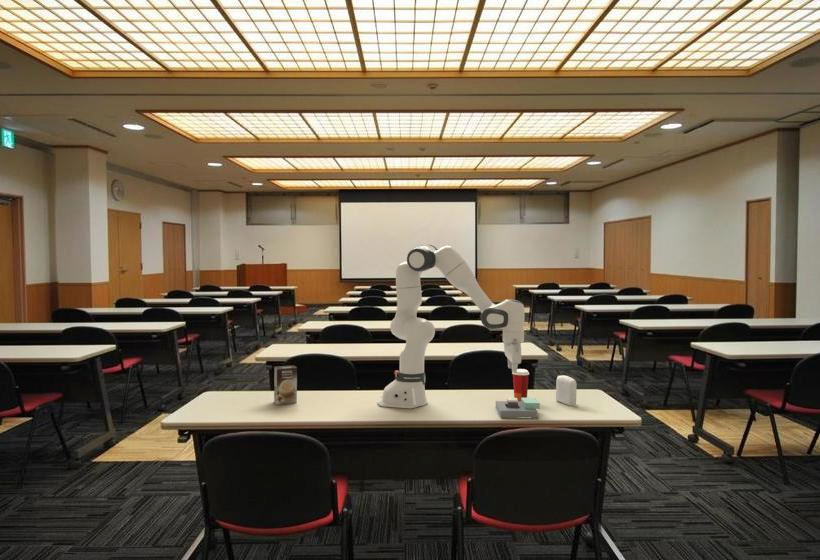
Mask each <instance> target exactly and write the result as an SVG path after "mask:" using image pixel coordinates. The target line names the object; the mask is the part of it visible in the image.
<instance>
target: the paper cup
mask: <svg viewBox="0 0 820 560" xmlns="http://www.w3.org/2000/svg"><path fill="white" fill-rule="evenodd" d="M511 372H512V371H511ZM511 374H512V379H513V380H512V382H513V398H517V400H518V401H521V398H528V391H529V390H528V388H529V375H530V372H529V370H527V369H525V368H517V373H513V372H512V373H511Z"/></svg>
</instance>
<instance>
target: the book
mask: <svg viewBox="0 0 820 560" xmlns="http://www.w3.org/2000/svg"><path fill="white" fill-rule="evenodd" d="M555 382H556V383H555V384H556V385H555V387H556V388H555V400H556V401H557V402H559V403H562V404H564V405H566V406H570V407H575V406H576V405H577V385H578V384H577V381H576V379H574V378H573V377H571V376H568V375H557V378H556V381H555Z"/></svg>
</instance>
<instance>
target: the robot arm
mask: <svg viewBox="0 0 820 560" xmlns="http://www.w3.org/2000/svg"><path fill="white" fill-rule="evenodd" d="M433 268H436V269H438V270H439V271H440V272H441V274H443V276H444V277H445V279H446V280H447V281H448V282H449V283H450V284H451V285H452V287H454V288H456V289H457V290H460V291H461V292H463V293H464V294H466V295H467V296H468V297H469V298H470V299H471V300H472V302H473V303H474V304H475V305H476V307H477V308H478V310H479V312H480V314H481V315H480V322H481V324H482V325H483V327H485V328H486V329H489V330H497V329H502V342H503V346H504V347H503V348H504V349H503V350H504V355H505V357H506V358H507V367H508V369H511V372H513V373H517V369H518V366H519V365H520V364H522V344H523V343H524V341H525V328H524V325H525V324H524V323H525V306H524V304H523V303H522V302H521V301H520V300H517V299H513V298H506V299H504V300H503V301H501V302H499V303H497V304H496V303H495V302H493V301H492V300H491V299H490V298H489V296H488V295H487V293H485V291H484V290H483V289H482V288H481V286H480V285H479V283H478V280H477V278H476V275H475V274H474V272H473V270H472V268H471V267H470V265H469V263H467V261H466V260H465V259H464V257H462V255H461V254H460V253H459V252H458V251H457V250H456V249H455V248H453V247H452V246H450V245H444V246H442V247H440V248H439V249H437V247H436V246H434V245H431V244H421V245H419V246H418V245H417V246H416V247H414V248H412V249H410V251H409V252H408V254H407V256H406V261H402V262H400V263H399V264H398V265H397V267H396V272H395V289H396V291H395V292H396V312H395V316H394V318H393V319H392V320H391V322H390V325H389V326H390V332H391V334H392V335H394V336H395V338H398V339H400V340H403V341H405V345H404V349H403V351H401V352H400V353H399V370H394V380H393V381H391V382H390V383H388V384H387V385H386V386H385V387H384V388H383V391H382V395H381V396H380V397H379V398H378V399H377V405H378V406H379V407H382V408H384V407H385V408H399V409H401V408H402V409H414V408H415V409H416V408H417V407H423V406H425V405H427V404H428V400H427V394H426V389H425V386H426V385H425V384H426V372H425V355H426V350H427V347H428V345H429V343H430V342H431V341H432V340H433V338H434V337H435V334H436V328H435V325H434V324H433V322H432V321H429V320H427V319H425V318H421V317H417V314H418V309H419V307H420V306H421V305H422V303H423V298H422V296H423V295H422V284H421V283H422V282H421V275H422V273H423V272H424V271H429V270H431V269H433Z"/></svg>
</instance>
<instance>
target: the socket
mask: <svg viewBox="0 0 820 560" xmlns="http://www.w3.org/2000/svg"><path fill="white" fill-rule="evenodd" d="M496 409H497V410H496ZM495 410H496V412H497V411H498V412H497V414H498V416H499V418H500V417H508V418H507V419H518V418H517V417H531V418H530V419H538V409H525V408H524V407H523V405H522V404H521V401H518V408H507V400H495ZM509 417H511V418H509Z"/></svg>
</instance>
